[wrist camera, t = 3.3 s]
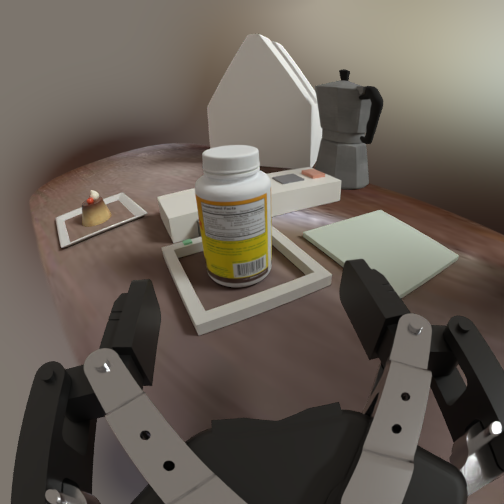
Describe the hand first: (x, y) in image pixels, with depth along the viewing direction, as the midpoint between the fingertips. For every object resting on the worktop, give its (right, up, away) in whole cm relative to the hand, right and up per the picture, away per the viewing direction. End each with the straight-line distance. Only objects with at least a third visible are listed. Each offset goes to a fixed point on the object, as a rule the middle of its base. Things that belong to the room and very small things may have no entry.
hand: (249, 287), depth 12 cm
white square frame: (-1, 0, +13) cm, 13 cm away
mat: (+13, +2, +15) cm, 20 cm away
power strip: (+1, +6, +23) cm, 24 cm away
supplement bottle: (-1, 0, +13) cm, 13 cm away
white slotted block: (+4, +21, +46) cm, 51 cm away
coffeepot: (+15, +12, +32) cm, 37 cm away
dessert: (-21, +5, +25) cm, 33 cm away
